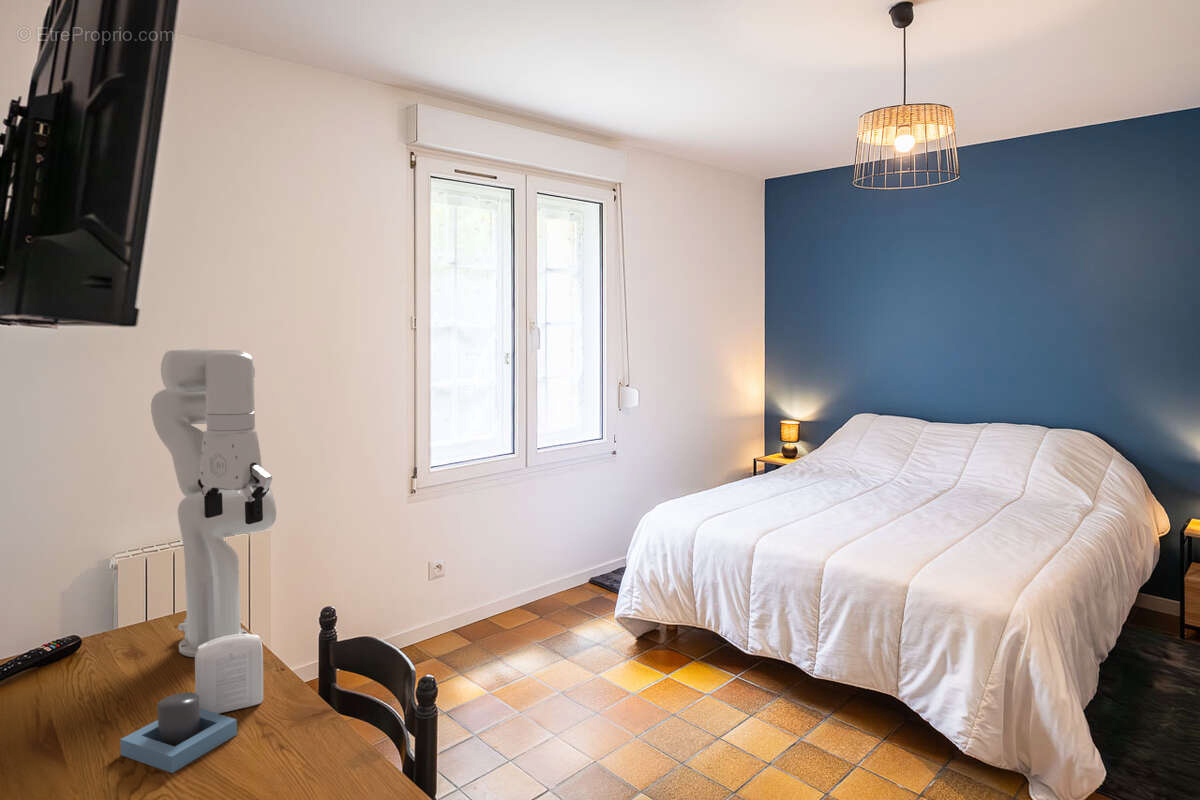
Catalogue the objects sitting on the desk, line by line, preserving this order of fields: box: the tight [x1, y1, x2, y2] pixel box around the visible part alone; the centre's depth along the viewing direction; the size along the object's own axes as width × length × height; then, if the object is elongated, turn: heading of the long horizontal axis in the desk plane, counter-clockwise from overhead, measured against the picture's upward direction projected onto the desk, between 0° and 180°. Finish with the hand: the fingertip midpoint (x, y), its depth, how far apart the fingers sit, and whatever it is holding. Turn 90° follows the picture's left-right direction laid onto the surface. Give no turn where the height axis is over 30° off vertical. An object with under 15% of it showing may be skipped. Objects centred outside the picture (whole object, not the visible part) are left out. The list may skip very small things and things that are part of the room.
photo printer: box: [194, 633, 264, 714], centre depth 121 cm, size 10×4×12 cm, turn 123°
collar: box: [119, 708, 238, 774], centre depth 110 cm, size 11×11×2 cm
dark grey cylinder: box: [156, 691, 200, 747], centre depth 110 cm, size 6×6×7 cm
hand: (233, 519), depth 127 cm, fingers open, 9 cm apart
